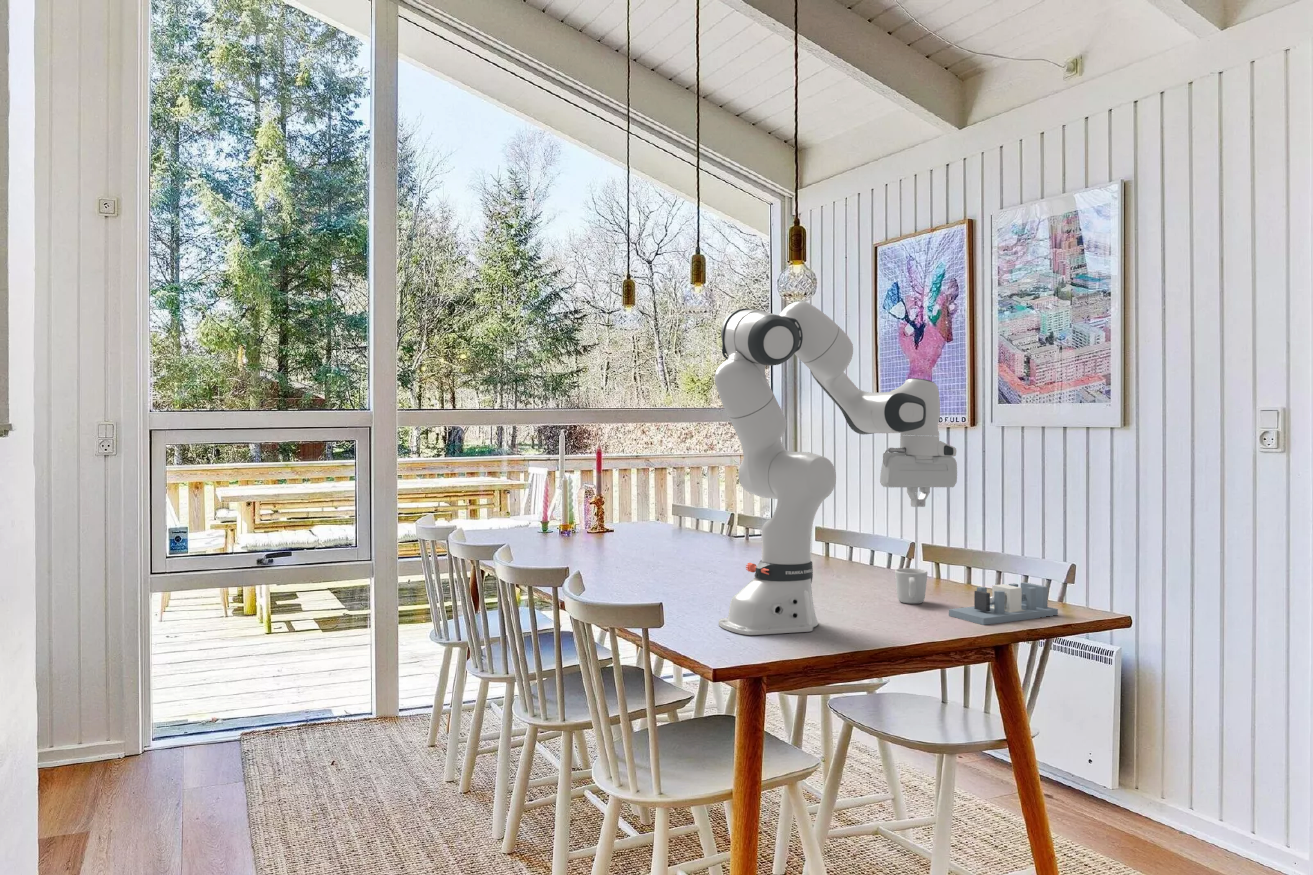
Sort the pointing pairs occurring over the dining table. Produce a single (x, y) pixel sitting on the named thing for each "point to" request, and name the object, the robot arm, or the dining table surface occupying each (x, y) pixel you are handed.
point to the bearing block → (998, 614)
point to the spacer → (1010, 596)
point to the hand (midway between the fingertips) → (917, 506)
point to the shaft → (987, 600)
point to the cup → (911, 585)
